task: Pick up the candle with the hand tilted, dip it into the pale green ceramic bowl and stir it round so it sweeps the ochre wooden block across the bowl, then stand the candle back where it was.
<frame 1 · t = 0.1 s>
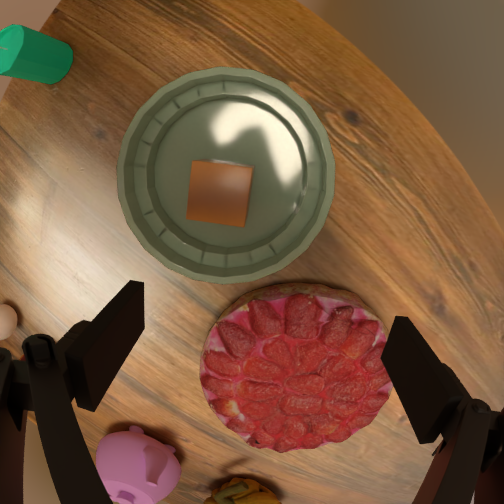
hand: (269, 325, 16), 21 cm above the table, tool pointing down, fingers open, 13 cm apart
teapot: (147, 443, 49), on the table
fruit: (243, 484, 52), on the table
cake: (297, 362, 41), on the table
candle: (56, 63, 30), on the table
egg: (13, 311, 42), on the table
bowl: (228, 172, 34), on the table
block: (225, 187, 34), point 1 cm above the table, touching bowl
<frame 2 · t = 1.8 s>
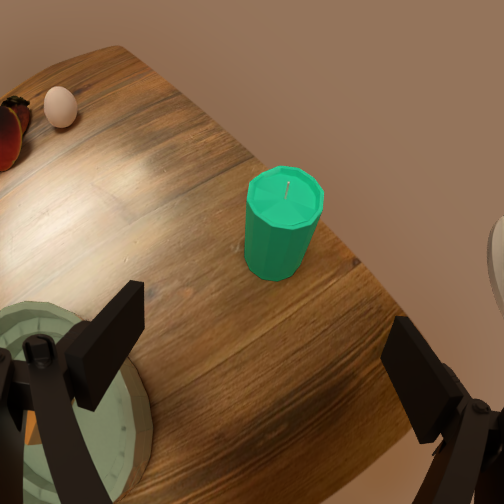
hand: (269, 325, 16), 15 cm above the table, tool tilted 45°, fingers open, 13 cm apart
mushroom: (11, 141, 42), on the table
candle: (272, 255, 34), on the table
egg: (68, 125, 43), on the table
bowl: (60, 414, 25), on the table
block: (46, 406, 24), point 1 cm above the table, touching bowl
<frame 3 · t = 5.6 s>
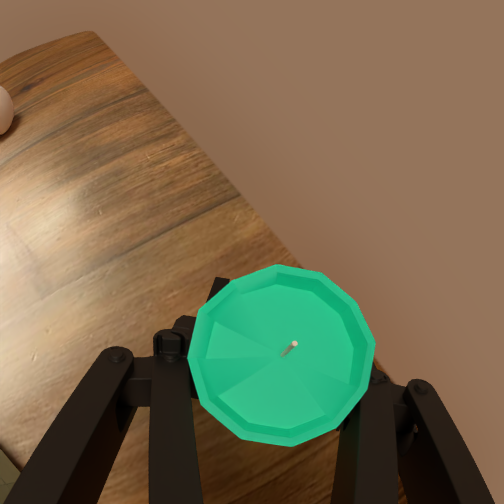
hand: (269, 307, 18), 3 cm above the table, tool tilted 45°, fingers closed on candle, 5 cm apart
candle: (256, 379, 19), on the table, touching gripper
egg: (4, 132, 28), on the table
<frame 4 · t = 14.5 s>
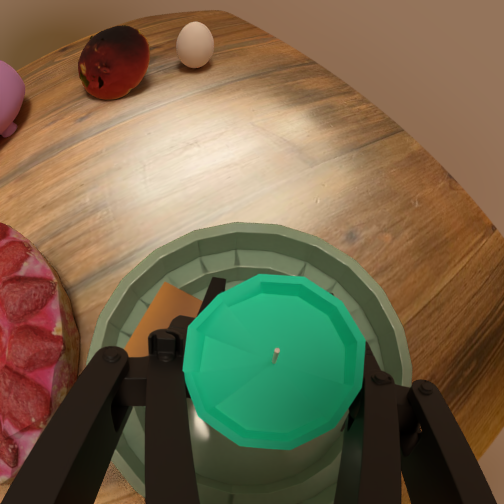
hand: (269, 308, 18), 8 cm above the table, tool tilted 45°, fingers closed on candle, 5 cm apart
mushroom: (114, 74, 40), on the table
candle: (266, 385, 19), point 4 cm above the table, touching block, gripper
egg: (195, 67, 41), on the table
bowl: (248, 383, 23), on the table
block: (190, 354, 23), point 1 cm above the table, touching bowl, candle
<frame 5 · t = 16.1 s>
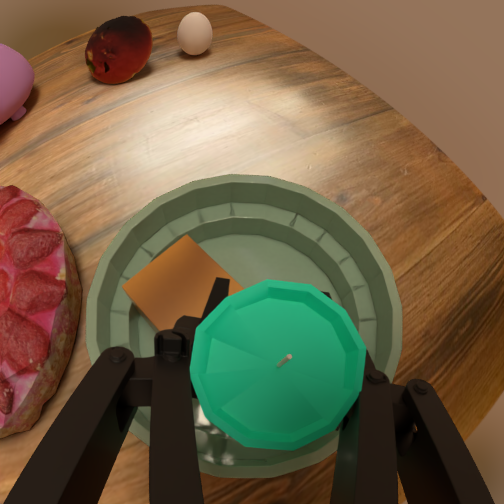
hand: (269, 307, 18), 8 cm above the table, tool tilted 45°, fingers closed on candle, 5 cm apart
mushroom: (119, 62, 42), on the table
teapot: (2, 118, 36), on the table
candle: (254, 384, 19), point 4 cm above the table, touching gripper
egg: (195, 54, 43), on the table
bowl: (243, 330, 25), on the table
block: (188, 316, 24), point 1 cm above the table, touching bowl, gripper
when the fingers open (4 cm above the table, at t = 24.5 s): candle stays where it is, on the table.
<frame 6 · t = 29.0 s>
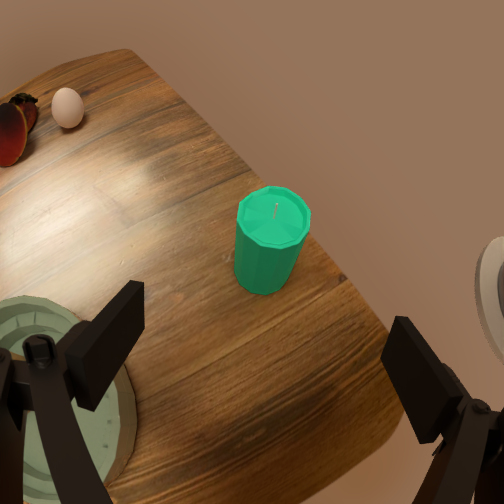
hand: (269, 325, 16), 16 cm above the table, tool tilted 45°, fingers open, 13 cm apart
mushroom: (17, 136, 43), on the table
candle: (261, 269, 35), on the table
egg: (74, 125, 44), on the table
bowl: (50, 405, 26), on the table
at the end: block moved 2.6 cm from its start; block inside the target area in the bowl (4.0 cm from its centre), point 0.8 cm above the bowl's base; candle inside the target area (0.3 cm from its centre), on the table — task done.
